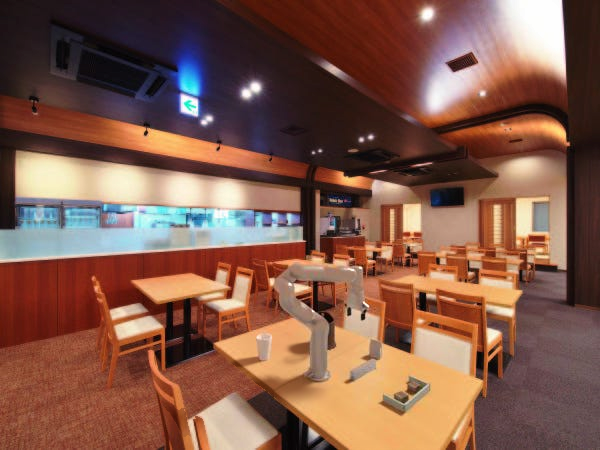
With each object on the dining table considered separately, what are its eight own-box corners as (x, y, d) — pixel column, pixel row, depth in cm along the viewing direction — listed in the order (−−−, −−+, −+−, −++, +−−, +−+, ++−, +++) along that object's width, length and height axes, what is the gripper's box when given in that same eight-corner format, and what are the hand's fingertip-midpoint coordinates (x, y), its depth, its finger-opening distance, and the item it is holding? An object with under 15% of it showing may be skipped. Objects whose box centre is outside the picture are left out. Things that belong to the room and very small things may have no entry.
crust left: (400, 405, 123) (400, 398, 123) (394, 400, 126) (394, 393, 126) (408, 402, 125) (408, 395, 125) (401, 397, 129) (401, 390, 129)
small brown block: (414, 394, 131) (414, 388, 131) (407, 389, 134) (407, 383, 134) (420, 391, 133) (421, 385, 133) (413, 387, 137) (413, 381, 137)
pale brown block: (379, 359, 165) (380, 342, 165) (369, 356, 169) (369, 340, 169) (382, 357, 168) (382, 340, 168) (371, 353, 172) (371, 338, 172)
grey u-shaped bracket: (404, 415, 117) (404, 405, 117) (382, 402, 126) (382, 394, 126) (430, 392, 134) (430, 383, 134) (409, 382, 142) (409, 374, 142)
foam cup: (272, 354, 170) (272, 333, 170) (271, 361, 161) (271, 339, 161) (257, 354, 170) (257, 333, 170) (255, 362, 161) (255, 340, 161)
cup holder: (336, 339, 193) (336, 304, 193) (337, 355, 169) (337, 315, 169) (310, 338, 195) (310, 303, 195) (307, 354, 171) (307, 314, 171)
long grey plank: (353, 381, 141) (353, 372, 141) (350, 379, 143) (350, 370, 143) (376, 368, 154) (376, 360, 154) (372, 367, 156) (372, 358, 156)
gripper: (340, 286, 159) (340, 315, 159) (364, 291, 146) (364, 323, 146) (348, 284, 164) (348, 312, 164) (372, 289, 151) (372, 320, 151)
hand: (355, 317), depth 155 cm, fingers open, 9 cm apart
